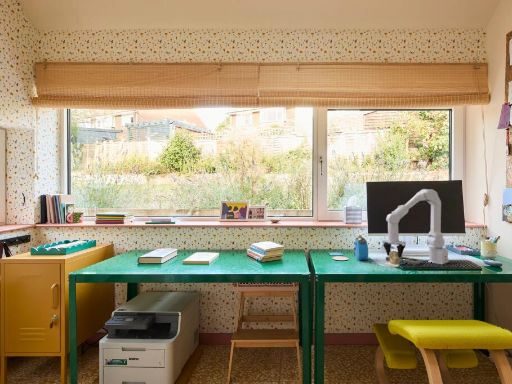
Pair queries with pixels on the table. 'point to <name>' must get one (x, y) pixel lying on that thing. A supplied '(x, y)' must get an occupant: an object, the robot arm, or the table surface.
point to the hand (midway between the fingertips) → (394, 256)
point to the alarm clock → (361, 248)
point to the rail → (408, 260)
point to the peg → (394, 257)
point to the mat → (391, 264)
